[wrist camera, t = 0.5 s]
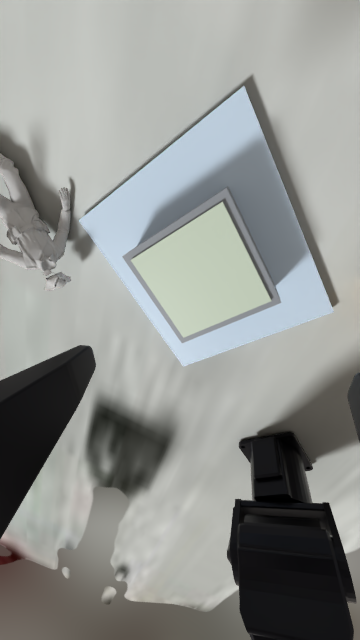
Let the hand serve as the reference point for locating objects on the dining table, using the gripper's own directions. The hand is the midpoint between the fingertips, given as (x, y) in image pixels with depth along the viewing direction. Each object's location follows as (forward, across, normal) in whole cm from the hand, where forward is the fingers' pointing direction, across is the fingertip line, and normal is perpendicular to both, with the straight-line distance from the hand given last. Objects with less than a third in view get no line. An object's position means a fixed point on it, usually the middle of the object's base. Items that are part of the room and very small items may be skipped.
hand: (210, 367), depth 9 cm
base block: (+13, +2, 0) cm, 13 cm away
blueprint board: (+13, +2, 0) cm, 13 cm away
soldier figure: (+13, +16, -4) cm, 21 cm away
